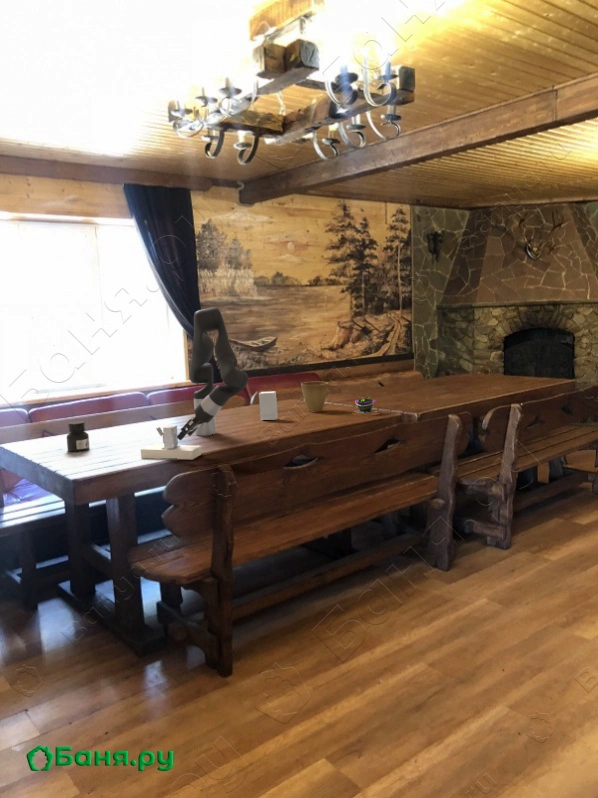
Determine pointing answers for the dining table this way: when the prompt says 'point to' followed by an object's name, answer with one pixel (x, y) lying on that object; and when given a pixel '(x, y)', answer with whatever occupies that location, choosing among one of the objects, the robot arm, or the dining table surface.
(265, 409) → the skincare box
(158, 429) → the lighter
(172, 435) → the pale grey rectangular block
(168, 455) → the cream recessed block
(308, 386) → the plant pot
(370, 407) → the toy cauldron
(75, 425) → the ink bottle
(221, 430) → the dining table surface
